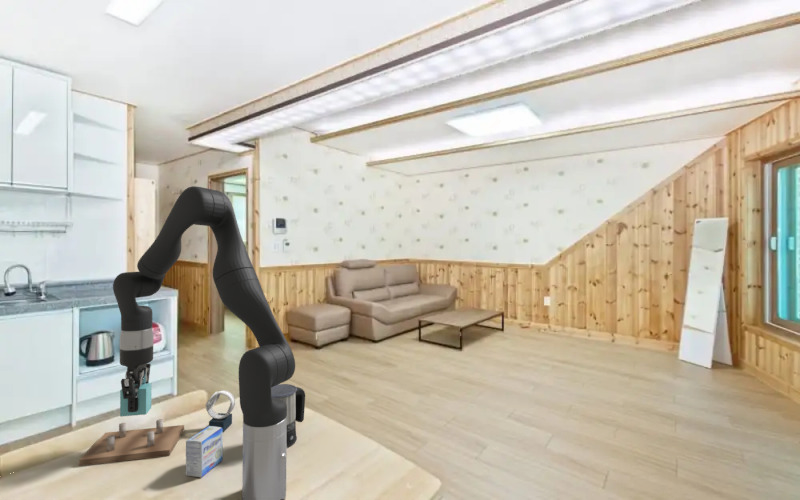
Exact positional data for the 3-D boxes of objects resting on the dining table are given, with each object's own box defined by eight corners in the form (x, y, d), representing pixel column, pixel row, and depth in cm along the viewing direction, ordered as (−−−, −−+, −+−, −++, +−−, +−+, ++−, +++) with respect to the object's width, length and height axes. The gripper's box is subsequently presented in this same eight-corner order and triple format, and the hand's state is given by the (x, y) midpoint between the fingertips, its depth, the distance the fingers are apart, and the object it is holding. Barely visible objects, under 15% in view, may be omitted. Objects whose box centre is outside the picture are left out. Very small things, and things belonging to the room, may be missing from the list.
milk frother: (287, 452, 103) (288, 397, 103) (233, 446, 106) (234, 392, 105) (308, 427, 117) (309, 379, 117) (260, 422, 120) (261, 375, 119)
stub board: (184, 429, 114) (184, 413, 114) (169, 455, 101) (169, 436, 100) (105, 437, 109) (105, 420, 109) (78, 465, 95) (78, 446, 95)
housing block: (151, 408, 107) (151, 383, 107) (146, 414, 103) (146, 388, 103) (126, 410, 106) (126, 384, 105) (120, 416, 102) (120, 390, 102)
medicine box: (201, 478, 91) (201, 442, 91) (185, 476, 92) (185, 440, 92) (223, 460, 99) (223, 426, 99) (207, 457, 100) (208, 425, 100)
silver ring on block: (211, 423, 119) (212, 387, 118) (237, 423, 118) (237, 388, 118) (202, 432, 113) (202, 395, 113) (229, 432, 113) (229, 395, 113)
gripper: (142, 351, 98) (142, 418, 99) (161, 338, 112) (160, 396, 112) (108, 353, 96) (108, 421, 97) (131, 339, 110) (131, 398, 110)
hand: (136, 407), depth 104 cm, fingers closed on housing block, 4 cm apart
